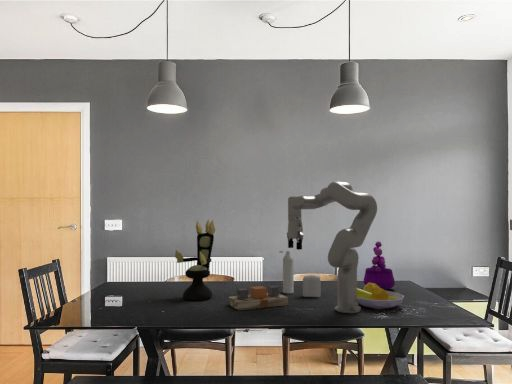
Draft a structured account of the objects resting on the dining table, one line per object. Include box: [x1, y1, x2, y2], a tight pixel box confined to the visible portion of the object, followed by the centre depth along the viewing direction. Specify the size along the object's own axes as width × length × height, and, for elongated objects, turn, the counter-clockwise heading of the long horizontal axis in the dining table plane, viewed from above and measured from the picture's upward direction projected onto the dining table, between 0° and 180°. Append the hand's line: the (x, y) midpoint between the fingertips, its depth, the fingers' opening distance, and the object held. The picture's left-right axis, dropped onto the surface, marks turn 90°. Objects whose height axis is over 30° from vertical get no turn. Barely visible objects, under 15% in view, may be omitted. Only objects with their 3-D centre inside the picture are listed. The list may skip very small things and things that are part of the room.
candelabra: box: [174, 218, 216, 302], centre depth 232 cm, size 19×22×45 cm
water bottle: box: [279, 250, 295, 294], centre depth 244 cm, size 9×6×25 cm
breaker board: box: [228, 292, 289, 311], centre depth 213 cm, size 15×28×5 cm, turn 113°
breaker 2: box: [267, 285, 280, 297], centre depth 217 cm, size 4×4×6 cm
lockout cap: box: [249, 285, 268, 299], centre depth 214 cm, size 7×7×5 cm
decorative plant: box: [363, 241, 396, 291], centre depth 252 cm, size 19×18×30 cm
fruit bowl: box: [357, 282, 405, 310], centre depth 211 cm, size 28×27×11 cm
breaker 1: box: [236, 288, 249, 300], centre depth 210 cm, size 4×4×6 cm
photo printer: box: [302, 274, 322, 298], centre depth 233 cm, size 10×4×12 cm, turn 84°
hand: (294, 248), depth 227 cm, fingers open, 9 cm apart
